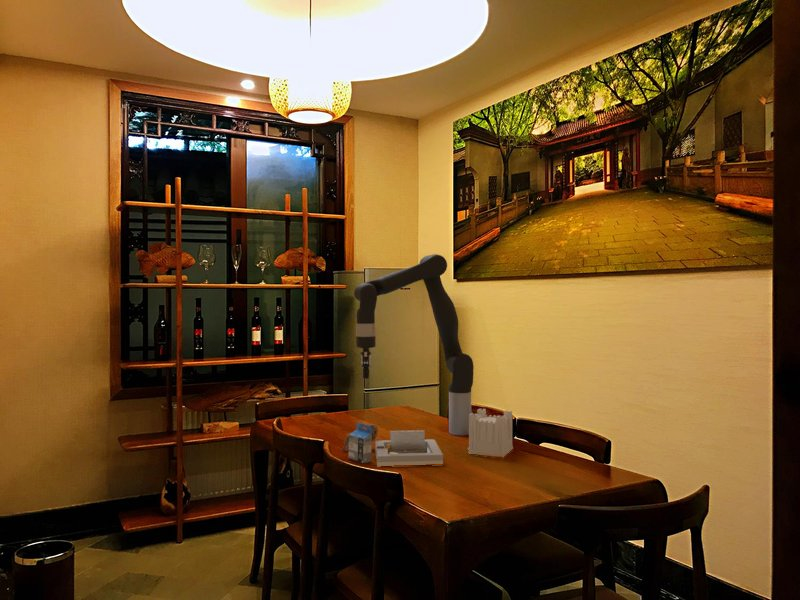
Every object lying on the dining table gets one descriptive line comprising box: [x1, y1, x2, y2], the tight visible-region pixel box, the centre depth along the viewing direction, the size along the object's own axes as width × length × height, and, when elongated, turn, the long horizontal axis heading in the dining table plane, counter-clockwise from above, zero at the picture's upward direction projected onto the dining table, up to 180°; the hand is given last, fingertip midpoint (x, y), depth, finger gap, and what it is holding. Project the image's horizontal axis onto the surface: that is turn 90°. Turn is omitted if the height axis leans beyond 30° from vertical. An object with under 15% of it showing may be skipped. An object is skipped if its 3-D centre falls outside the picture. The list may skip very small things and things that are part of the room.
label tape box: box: [348, 421, 373, 464], centre depth 208 cm, size 9×4×12 cm, turn 40°
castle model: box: [467, 408, 514, 457], centre depth 218 cm, size 13×15×14 cm
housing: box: [374, 438, 444, 468], centre depth 211 cm, size 22×22×4 cm
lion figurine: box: [341, 423, 379, 452], centre depth 221 cm, size 15×5×9 cm, turn 120°
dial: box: [387, 429, 427, 454], centre depth 211 cm, size 14×14×8 cm
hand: (366, 376), depth 232 cm, fingers open, 8 cm apart
